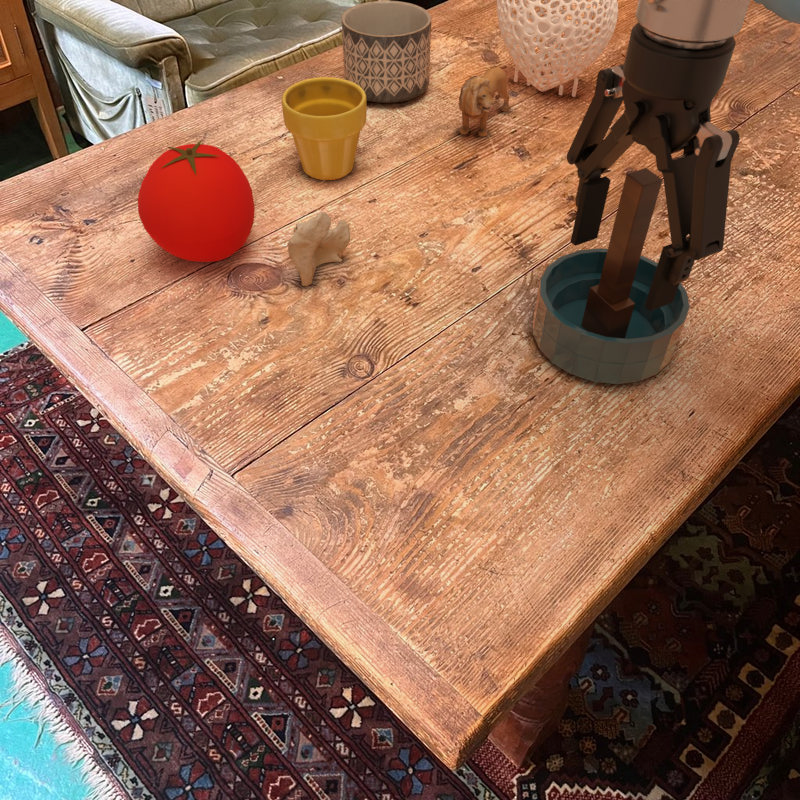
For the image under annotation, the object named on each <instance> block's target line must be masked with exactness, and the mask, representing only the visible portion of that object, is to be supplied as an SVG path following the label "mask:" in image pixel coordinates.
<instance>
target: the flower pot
mask: <svg viewBox="0 0 800 800" xmlns="http://www.w3.org/2000/svg"><path fill="white" fill-rule="evenodd" d="M367 108H368V107H367V100H366V94H365V92H364V90H363V89H362V88H361V87H360V86H359V85H357V84H356V83H354V82H351V81H348V80H345V79H344V78H339V77H333V76H332V77H331V76H318V77H310V78H306V79H303V80H302V79H301V80H299V81H298V82H295V83H293V84H291V85H290V86H289V87H287V88H286V89H285V91H284V92H283V94H282V96H281V109H282V116H283V123H284V126H285V128H286V129H287V131H288V132H289V133H290V134H291V136H292V139H293V141H294V145H295V147H296V148H295V149H296V151H297V155H298V158H299V160H300V163H301V167H302V169H303V172H304V173H305V174H306V175H307V176H309V177H310V178H313V179H316V180H320V181H334V180H339V179H342V178H344V177H346V176H348V175H349V174H350V173H351V172H352V171H353V168H354V163H355V161H356V154H357V149H358V144H359V139H360V134H361V131H362V130H363V129H364V127H365V125H366V123H367V110H368V109H367Z"/></svg>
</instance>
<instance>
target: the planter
mask: <svg viewBox="0 0 800 800" xmlns="http://www.w3.org/2000/svg"><path fill="white" fill-rule="evenodd" d="M341 37H342V59H343V79H345V80H348V81H351V82H354V83H356V84H357V85H359V86H360V87H361V88H362V89H363V90H364V92H365V94H366V102H372V103H374V102H375V103H379V104H381V103H382V104H389V103H391V104H392V103H400V102H407V101H411V100H413V99H415V98H418V97H419V96H421V95H422V94H424V93H425V92H426V91H427V89H428V88H429V85H430V71H431V70H430V69H431V43H432V42H431V40H432V15H431V14H430V13H429V11H428V10H426V9H425V8H424V7H422V6H419V5H417V4H414V3H410V2H407V1H406V2H405V1H399V0H373V1H367V2H363V3H358V4H356V5H353V6H351V7H350V8H349V7H348V9H346V10H345V11H344V12H343V14H342V15H341Z"/></svg>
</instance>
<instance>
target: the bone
mask: <svg viewBox="0 0 800 800" xmlns="http://www.w3.org/2000/svg"><path fill="white" fill-rule="evenodd" d="M331 225H332V218H331V217H330V215H329V214H328V213H327V212H325V211H320V212H318V213H317V214H316V215H315V216H312V217H310V219H308V220H307V221H306V222H304V221H303V222H298V223H297V222H296V224H295V227H293V234H292V236H291V237H290V238H289V240H288V241H287V252H288V255H289V258H290V260H291V261H292V263H293V265H294V266H295V267H296V269H297V273H298V274H299V277H300V280H301V286H302V287H309V286H311V285H312V284H313V280H314V276H315V274H316V270H317V267H319V266H321V265H323V264H327V263H333V262H334V263H340V262H342V261H343V259H342V258H341V257H340V256H339V254H340V253H342V252H343V251H345V250H346V249H347V247H348V246H349V244H350V241H351V230H350V224H349V223H348V222H347V221H346V220H345V219H340V220H339V221H338V222H337V224H336V226H335V228H333V229H331Z"/></svg>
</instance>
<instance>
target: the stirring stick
mask: <svg viewBox="0 0 800 800" xmlns="http://www.w3.org/2000/svg"><path fill="white" fill-rule="evenodd" d="M663 182H664V180H663V179H662V178H661V177H660V176H658V175H656V174H655V173H654V172H653V171H652V170H650V169H649V168H647V167H644V168H642V169H641V168H640V169H638V170H635V171H632V172H628V173H626V175H625V180H624V183H623V186H622V190H621V194H620V198H619V202H618V207H617V210H616V214H615V218H614V222H613V226H612V231H611V235H610V239H609V243H608V247H607V249H608V250H607V254H606V258H605V262H604V266H603V270H602V274H601V278H600V282H599V285H596V286H593V287H591V288H590V291H589V295H588V299H587V303H586V308H585V312H584V316H583V320H582V324H581V326H582V327H583V328H585V329H586V330H587V331H589V332H592V333H595V334H599V335H602V336H605V337H613V338H624V339H625V336H626V333H627V329H628V326H629V323H630V319H631V316H632V313H633V309H634V306H635V303H634V302H633V301H632V300H631V299H630V298H629V294H630V291H631V287H632V284H633V281H634V277H635V274H636V270H637V267H638V263H639V260H640V256H641V255H642V253H643V250H644V245H645V243H646V239H647V235H648V232H649V228H650V225H651V221H652V219H653V215H654V211H655V209H656V205H657V201H658V198H659V195H660V190H661V187H662V184H663Z"/></svg>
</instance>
